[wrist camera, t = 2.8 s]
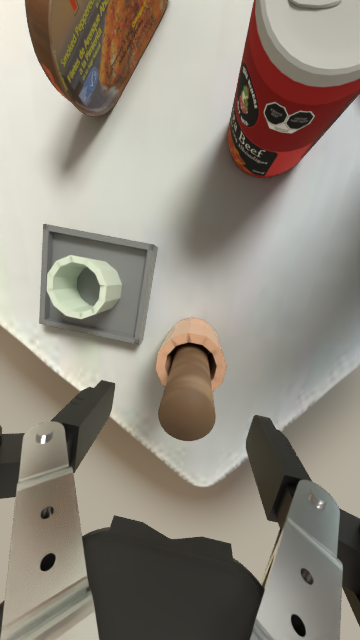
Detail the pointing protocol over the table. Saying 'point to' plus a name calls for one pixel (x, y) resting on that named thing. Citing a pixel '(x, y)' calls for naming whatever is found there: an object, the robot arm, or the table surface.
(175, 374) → the peg
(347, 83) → the canned food
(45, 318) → the tray
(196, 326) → the cup
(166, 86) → the table surface
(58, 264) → the holder
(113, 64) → the tin
